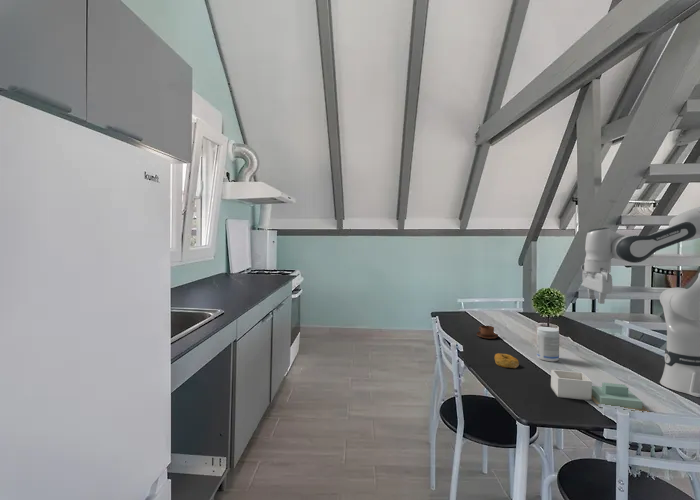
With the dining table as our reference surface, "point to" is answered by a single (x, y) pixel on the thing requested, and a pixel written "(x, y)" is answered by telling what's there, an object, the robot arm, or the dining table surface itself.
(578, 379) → the storage box
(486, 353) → the dining table surface
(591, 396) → the cork mat
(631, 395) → the lid
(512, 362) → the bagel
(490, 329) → the cup and saucer
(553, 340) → the supplement tub
